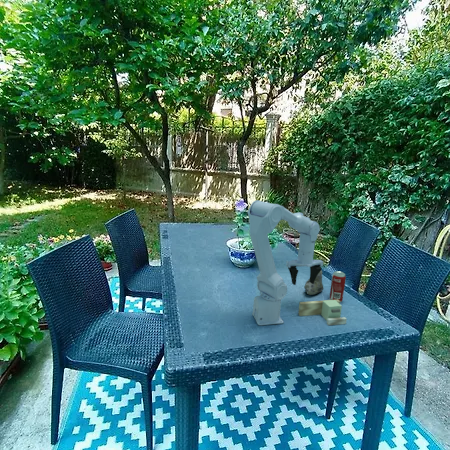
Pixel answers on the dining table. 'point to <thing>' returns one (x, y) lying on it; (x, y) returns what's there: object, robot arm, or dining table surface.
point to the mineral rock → (314, 285)
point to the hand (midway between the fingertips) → (302, 283)
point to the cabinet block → (331, 309)
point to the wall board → (318, 311)
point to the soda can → (337, 286)
